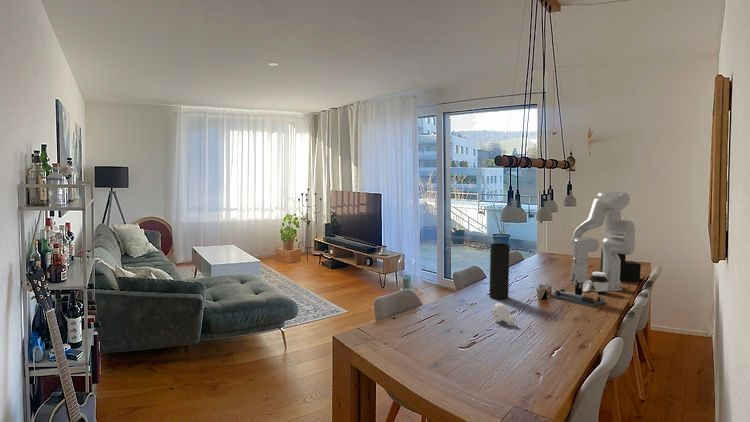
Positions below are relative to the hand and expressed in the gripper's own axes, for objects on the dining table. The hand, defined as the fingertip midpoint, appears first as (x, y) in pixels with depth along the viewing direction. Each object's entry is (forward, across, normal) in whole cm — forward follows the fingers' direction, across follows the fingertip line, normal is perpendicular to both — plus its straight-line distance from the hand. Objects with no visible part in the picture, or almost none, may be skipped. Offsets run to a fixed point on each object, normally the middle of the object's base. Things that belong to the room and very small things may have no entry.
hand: (578, 294), depth 250 cm
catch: (+2, -1, +7) cm, 7 cm away
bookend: (+2, -72, -8) cm, 73 cm away
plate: (+3, -1, -1) cm, 4 cm away
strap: (+1, -1, -4) cm, 5 cm away
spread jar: (+3, -25, -3) cm, 25 cm away
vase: (+4, +29, -31) cm, 43 cm away
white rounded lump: (+5, +64, -2) cm, 64 cm away
